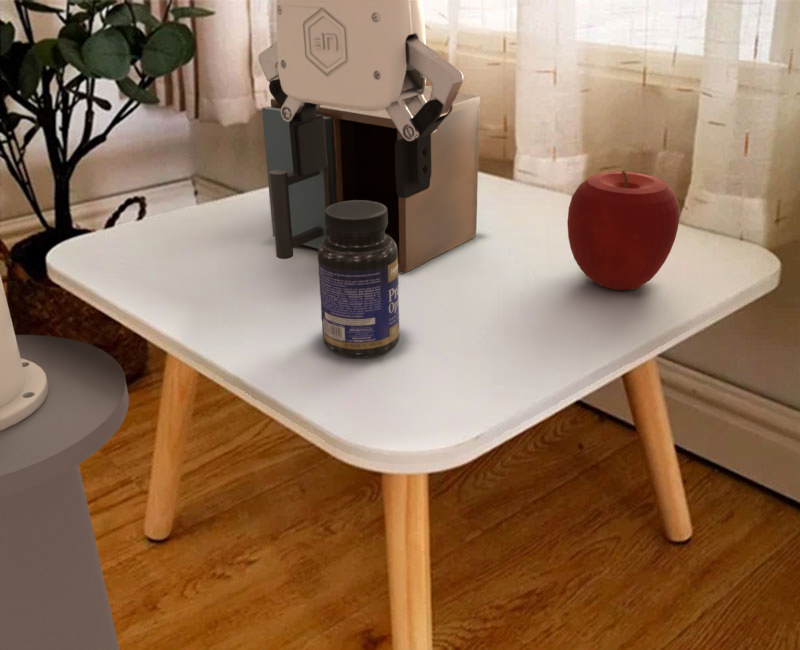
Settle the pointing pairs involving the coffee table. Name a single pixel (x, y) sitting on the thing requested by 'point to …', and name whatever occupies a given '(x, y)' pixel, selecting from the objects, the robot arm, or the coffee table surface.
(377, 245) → the pill bottle
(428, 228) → the cabinet
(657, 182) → the apple
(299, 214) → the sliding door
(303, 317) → the coffee table surface
